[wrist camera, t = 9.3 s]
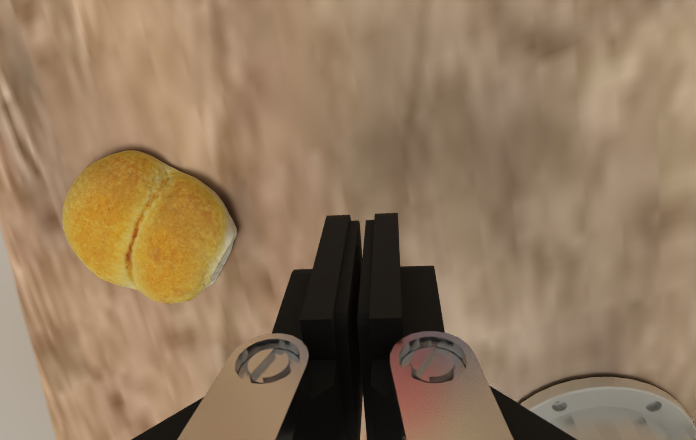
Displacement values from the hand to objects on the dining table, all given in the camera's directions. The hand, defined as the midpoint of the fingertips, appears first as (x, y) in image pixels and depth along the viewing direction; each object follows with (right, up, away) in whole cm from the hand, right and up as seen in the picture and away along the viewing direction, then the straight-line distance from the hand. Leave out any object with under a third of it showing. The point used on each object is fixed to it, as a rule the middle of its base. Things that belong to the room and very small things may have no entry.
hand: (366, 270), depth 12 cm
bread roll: (-11, +1, +17) cm, 20 cm away
